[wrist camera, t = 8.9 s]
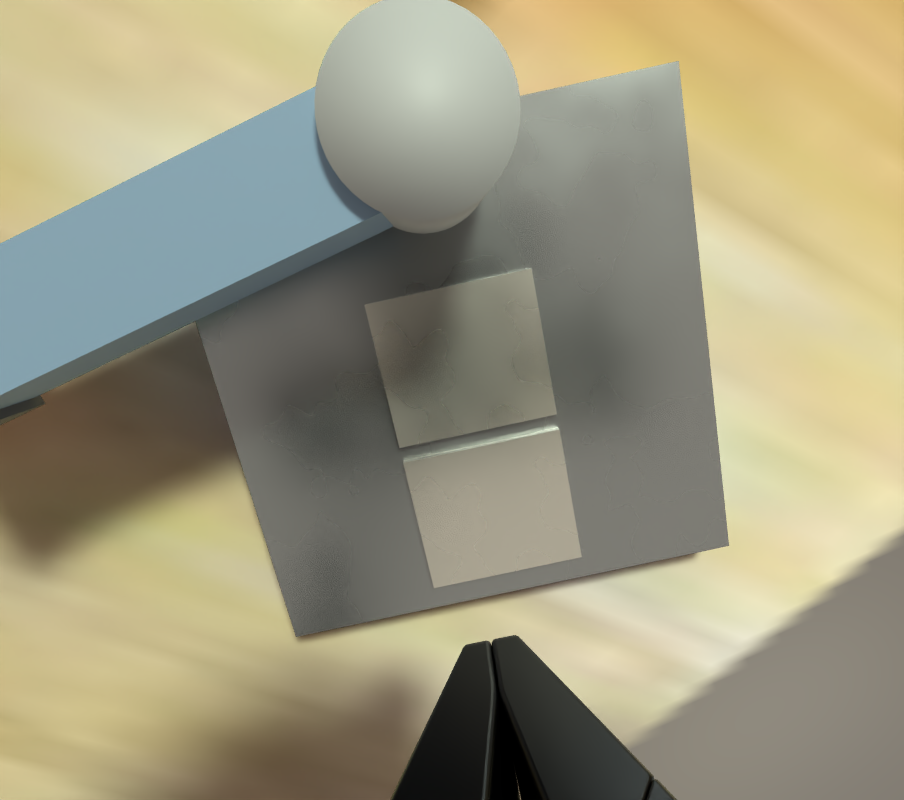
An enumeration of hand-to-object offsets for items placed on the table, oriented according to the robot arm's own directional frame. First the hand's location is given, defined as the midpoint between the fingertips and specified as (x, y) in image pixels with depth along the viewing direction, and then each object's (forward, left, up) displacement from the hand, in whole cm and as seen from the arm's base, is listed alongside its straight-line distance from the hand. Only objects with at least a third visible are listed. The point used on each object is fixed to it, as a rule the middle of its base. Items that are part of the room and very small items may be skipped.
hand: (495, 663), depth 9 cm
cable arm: (+7, +4, -5) cm, 10 cm away
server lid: (+3, -1, -7) cm, 8 cm away
